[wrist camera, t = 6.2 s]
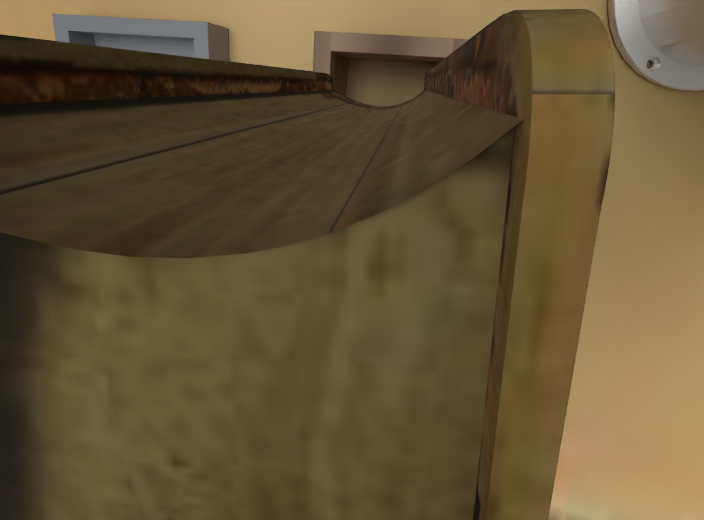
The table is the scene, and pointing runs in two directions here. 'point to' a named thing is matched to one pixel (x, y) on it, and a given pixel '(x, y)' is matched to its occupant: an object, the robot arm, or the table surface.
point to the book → (295, 280)
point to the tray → (145, 35)
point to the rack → (374, 51)
